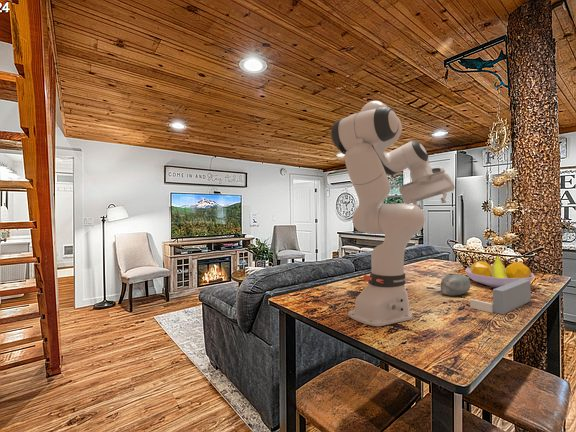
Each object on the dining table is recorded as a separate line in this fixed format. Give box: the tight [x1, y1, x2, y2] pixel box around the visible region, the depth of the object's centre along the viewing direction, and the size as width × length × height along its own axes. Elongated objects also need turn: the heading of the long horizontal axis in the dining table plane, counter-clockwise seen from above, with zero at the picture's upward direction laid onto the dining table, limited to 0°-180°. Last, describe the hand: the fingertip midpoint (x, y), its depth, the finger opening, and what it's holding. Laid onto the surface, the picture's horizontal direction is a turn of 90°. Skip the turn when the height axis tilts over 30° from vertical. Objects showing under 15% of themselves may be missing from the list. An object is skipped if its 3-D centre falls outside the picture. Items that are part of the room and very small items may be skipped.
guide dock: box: [469, 279, 532, 315], centre depth 109 cm, size 26×10×8 cm, turn 123°
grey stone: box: [440, 273, 471, 297], centre depth 124 cm, size 14×10×10 cm
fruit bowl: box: [464, 255, 536, 288], centre depth 137 cm, size 28×27×11 cm
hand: (431, 206), depth 118 cm, fingers open, 8 cm apart
